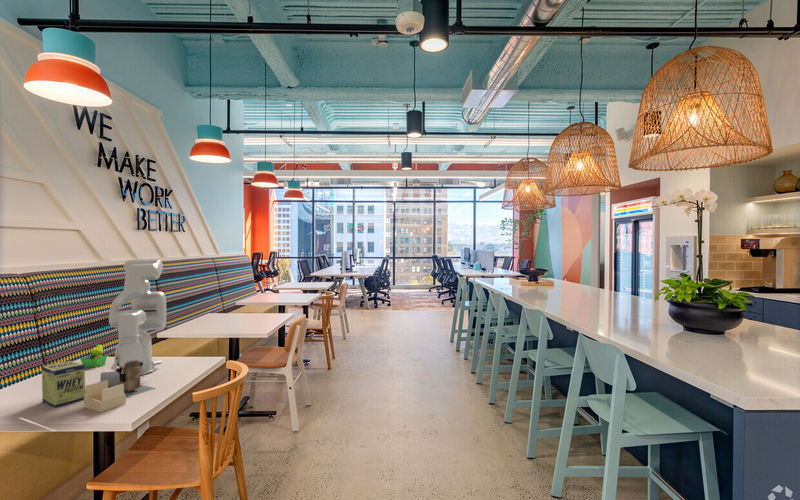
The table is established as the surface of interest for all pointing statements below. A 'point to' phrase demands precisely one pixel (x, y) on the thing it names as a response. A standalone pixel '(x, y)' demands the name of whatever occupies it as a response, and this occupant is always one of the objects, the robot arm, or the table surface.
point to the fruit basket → (94, 358)
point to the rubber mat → (137, 390)
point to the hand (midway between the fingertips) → (129, 379)
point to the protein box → (63, 383)
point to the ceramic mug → (110, 378)
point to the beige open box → (104, 396)
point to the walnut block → (132, 376)
